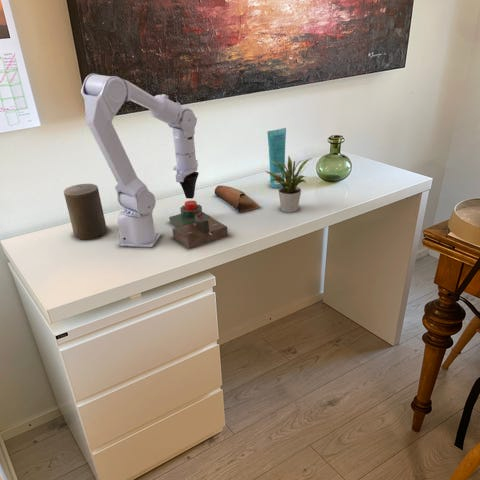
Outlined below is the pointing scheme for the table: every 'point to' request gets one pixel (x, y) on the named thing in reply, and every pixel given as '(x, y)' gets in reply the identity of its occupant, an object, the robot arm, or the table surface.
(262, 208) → the table surface
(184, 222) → the button box
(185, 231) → the console
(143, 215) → the robot arm
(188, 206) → the button
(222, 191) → the sunglasses case
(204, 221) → the dark grey red block
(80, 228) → the pillar candle
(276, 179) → the house plant
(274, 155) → the tube
